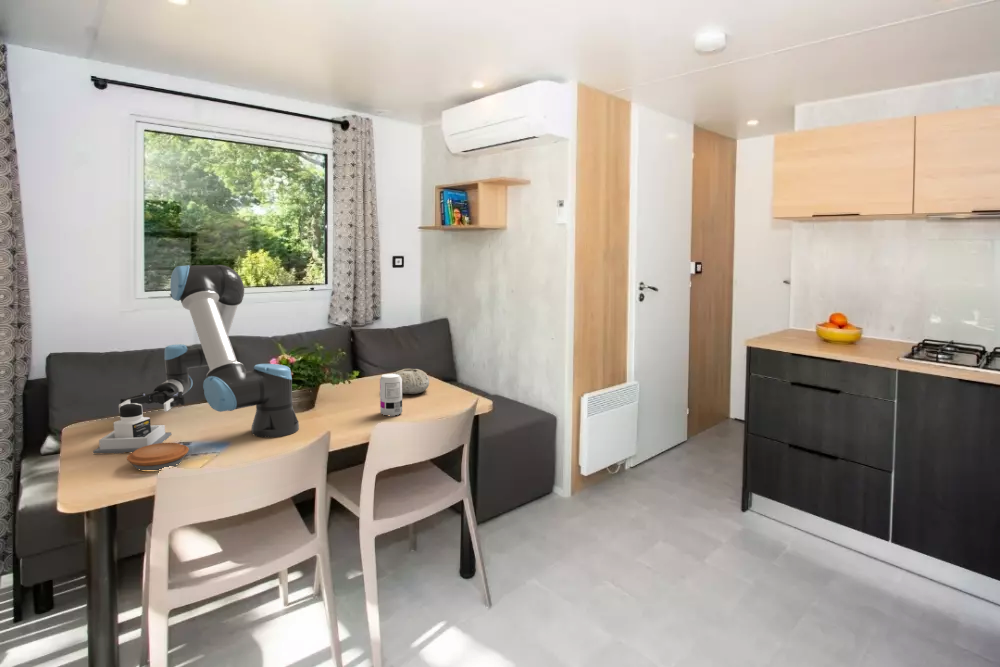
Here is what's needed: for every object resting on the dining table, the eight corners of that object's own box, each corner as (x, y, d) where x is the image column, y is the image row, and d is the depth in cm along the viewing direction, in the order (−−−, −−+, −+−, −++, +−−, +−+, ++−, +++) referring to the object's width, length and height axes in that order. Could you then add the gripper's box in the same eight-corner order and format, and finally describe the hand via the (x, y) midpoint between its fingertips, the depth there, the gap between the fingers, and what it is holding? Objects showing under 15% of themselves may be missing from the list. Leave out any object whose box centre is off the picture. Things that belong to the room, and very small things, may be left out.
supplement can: (376, 415, 217) (375, 376, 215) (388, 409, 225) (387, 372, 222) (394, 417, 214) (394, 378, 212) (406, 412, 222) (405, 374, 219)
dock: (171, 435, 192) (170, 423, 191) (150, 451, 176) (149, 439, 175) (118, 437, 189) (117, 425, 188) (93, 454, 173) (92, 441, 173)
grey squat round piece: (422, 398, 241) (422, 375, 240) (382, 396, 245) (381, 373, 243) (434, 388, 259) (434, 367, 257) (397, 386, 262) (396, 365, 260)
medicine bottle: (134, 445, 178) (131, 408, 176) (114, 444, 180) (111, 407, 178) (152, 438, 185) (149, 402, 183) (133, 436, 186) (130, 401, 185)
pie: (116, 467, 164) (115, 450, 163) (171, 451, 177) (170, 436, 176) (145, 479, 156) (144, 462, 155) (200, 461, 169) (199, 445, 168)
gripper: (205, 400, 212) (184, 417, 192) (131, 403, 208) (102, 420, 187) (204, 381, 211) (182, 395, 191) (130, 383, 207) (100, 398, 186)
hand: (142, 408), depth 189 cm, fingers open, 13 cm apart
